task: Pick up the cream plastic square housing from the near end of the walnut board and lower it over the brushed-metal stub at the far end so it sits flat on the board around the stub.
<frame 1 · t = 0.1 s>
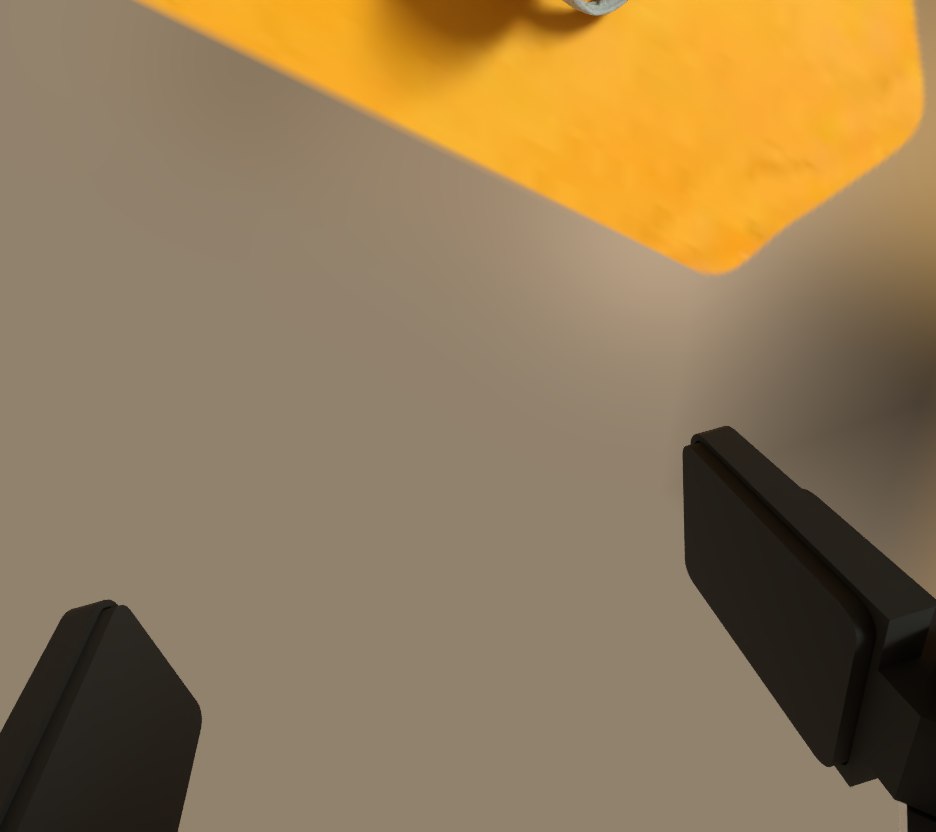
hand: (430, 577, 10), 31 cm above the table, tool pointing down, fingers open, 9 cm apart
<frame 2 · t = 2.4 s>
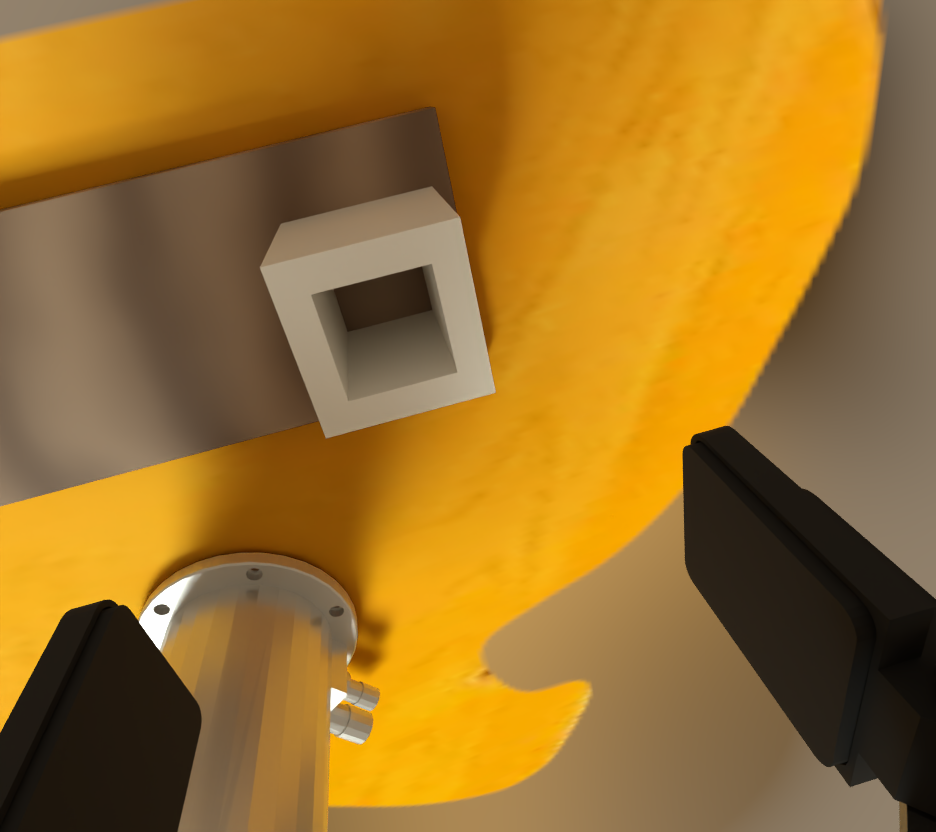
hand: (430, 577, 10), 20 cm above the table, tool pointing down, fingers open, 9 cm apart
cream housing: (378, 279, 26), point 1 cm above the table, touching walnut board
walnut board: (183, 319, 27), on the table
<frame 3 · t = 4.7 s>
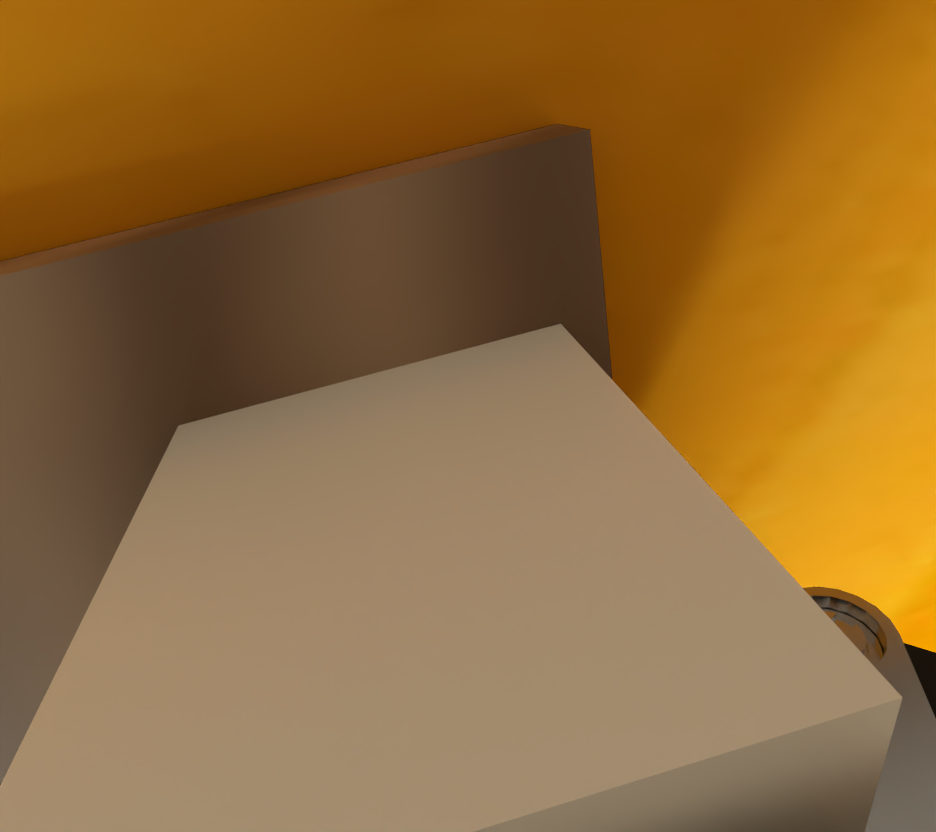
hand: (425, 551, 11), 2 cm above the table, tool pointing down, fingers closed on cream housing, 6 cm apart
cream housing: (420, 521, 11), point 1 cm above the table, touching gripper, walnut board
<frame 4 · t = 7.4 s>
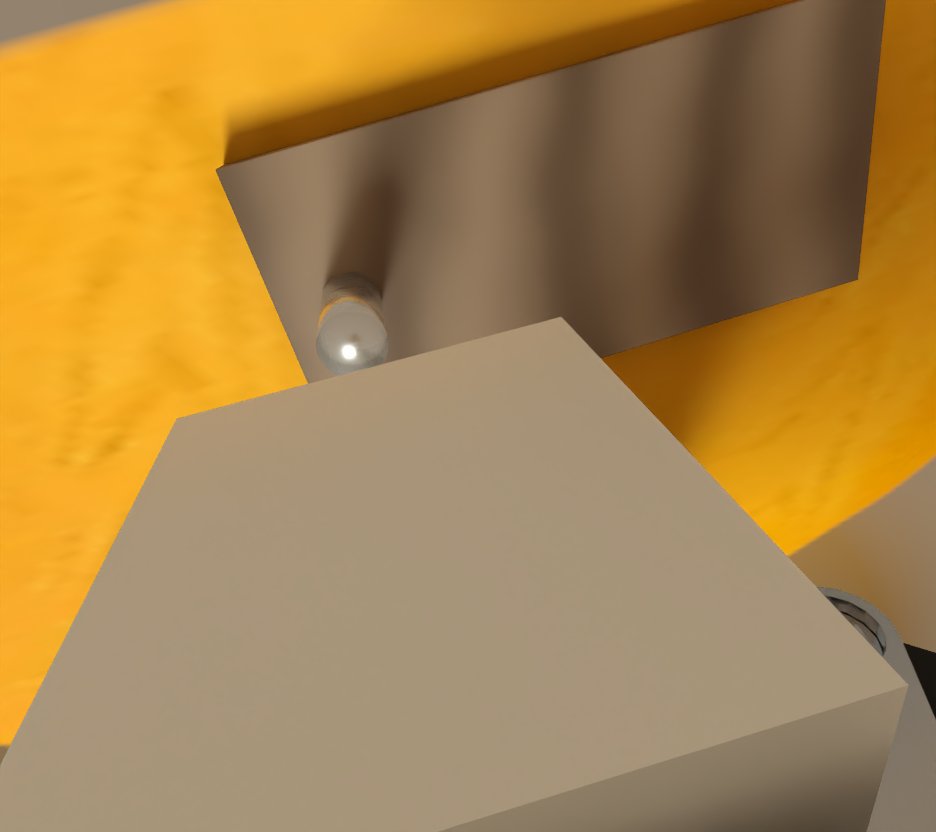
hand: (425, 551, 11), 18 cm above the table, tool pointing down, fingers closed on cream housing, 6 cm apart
metal stub: (351, 300, 24), resting on walnut board
cream housing: (420, 515, 11), point 17 cm above the table, touching gripper
walnut board: (569, 225, 26), on the table
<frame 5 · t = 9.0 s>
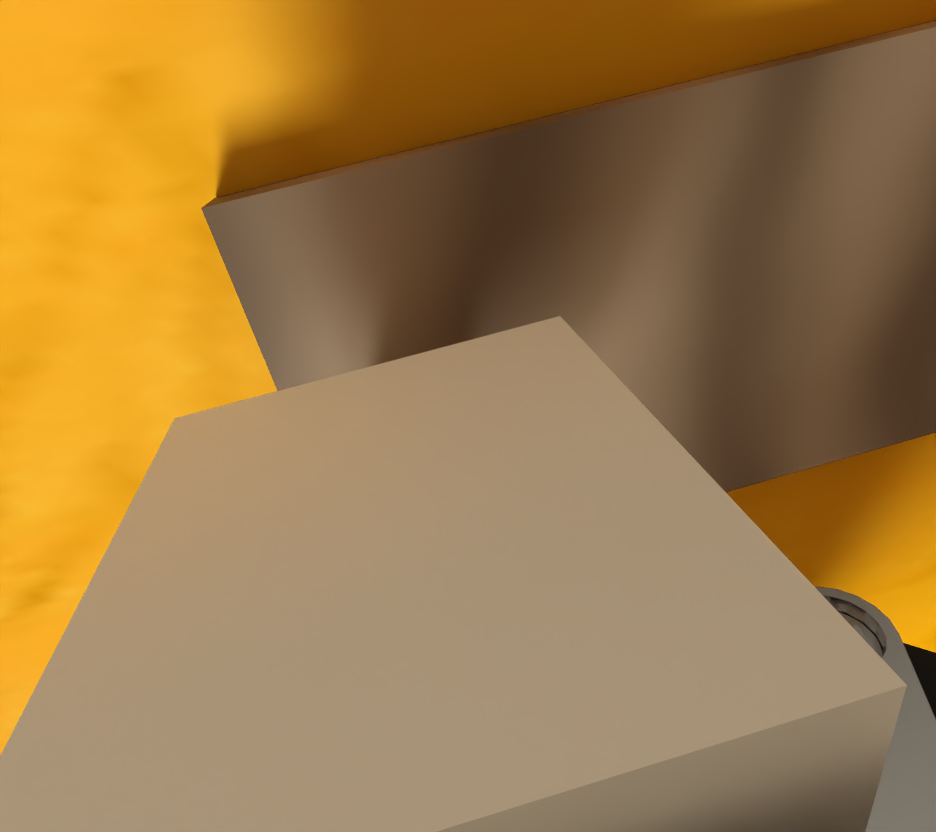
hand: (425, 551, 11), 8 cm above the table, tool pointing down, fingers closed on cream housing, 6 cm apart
cream housing: (418, 515, 11), point 7 cm above the table, touching gripper
walnut board: (727, 298, 18), on the table
when the fingers open (3 cm above the table, at t = 10.3 s): cream housing stays where it is, resting on walnut board.
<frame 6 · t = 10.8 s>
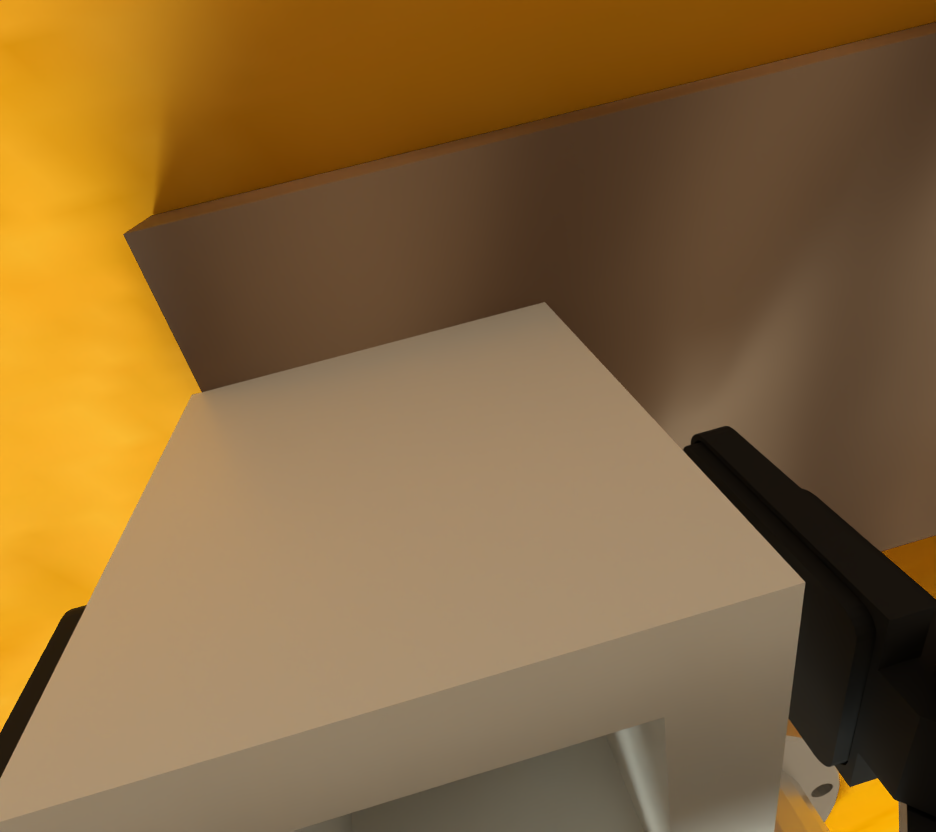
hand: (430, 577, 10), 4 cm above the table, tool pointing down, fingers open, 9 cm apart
cream housing: (415, 488, 12), point 1 cm above the table, touching walnut board
walnut board: (820, 338, 14), on the table
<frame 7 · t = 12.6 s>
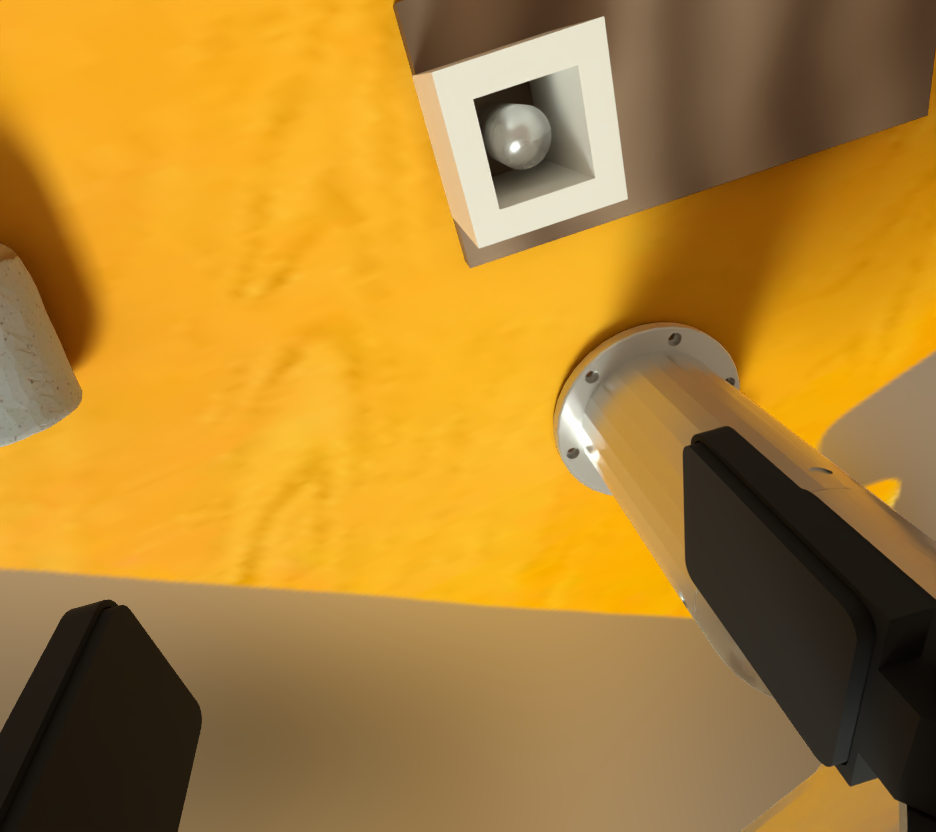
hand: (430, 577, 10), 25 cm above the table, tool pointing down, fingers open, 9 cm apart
metal stub: (496, 130, 28), resting on walnut board
cream housing: (496, 129, 28), point 1 cm above the table, touching walnut board
walnut board: (677, 66, 30), on the table
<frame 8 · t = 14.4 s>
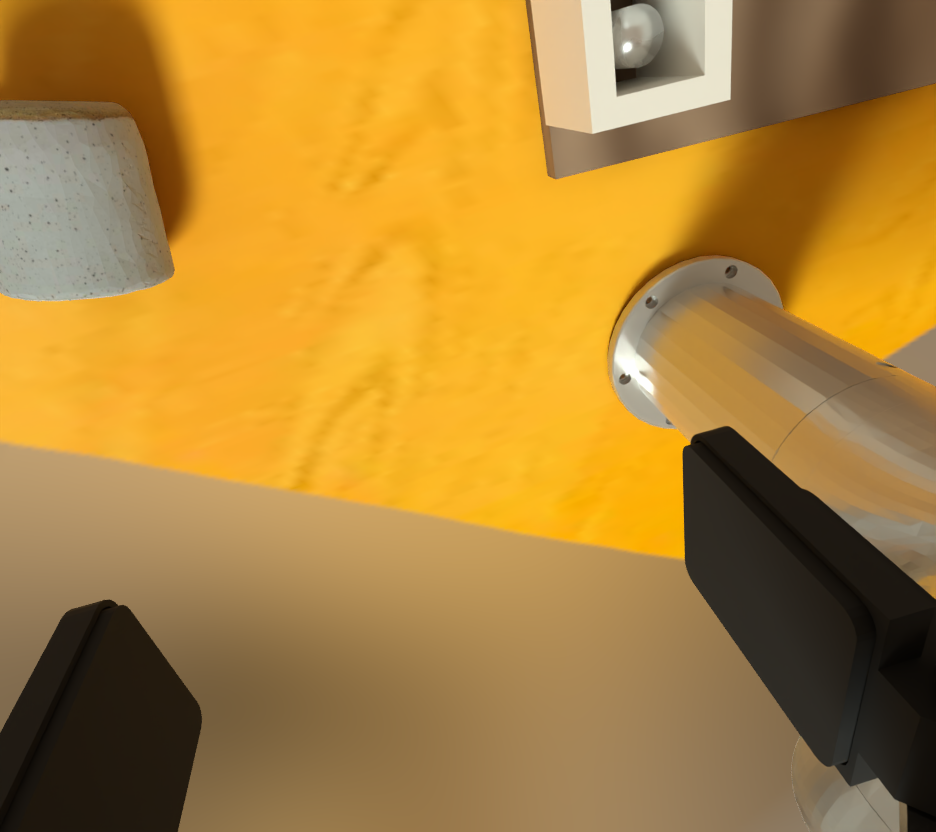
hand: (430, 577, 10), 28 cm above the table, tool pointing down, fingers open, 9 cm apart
metal stub: (596, 43, 30), resting on walnut board
ceramic mug: (73, 193, 31), on the table
cream housing: (597, 42, 30), point 1 cm above the table, touching walnut board
walnut board: (761, 3, 32), on the table
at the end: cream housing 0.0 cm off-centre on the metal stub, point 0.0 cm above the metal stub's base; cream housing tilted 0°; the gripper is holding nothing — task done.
